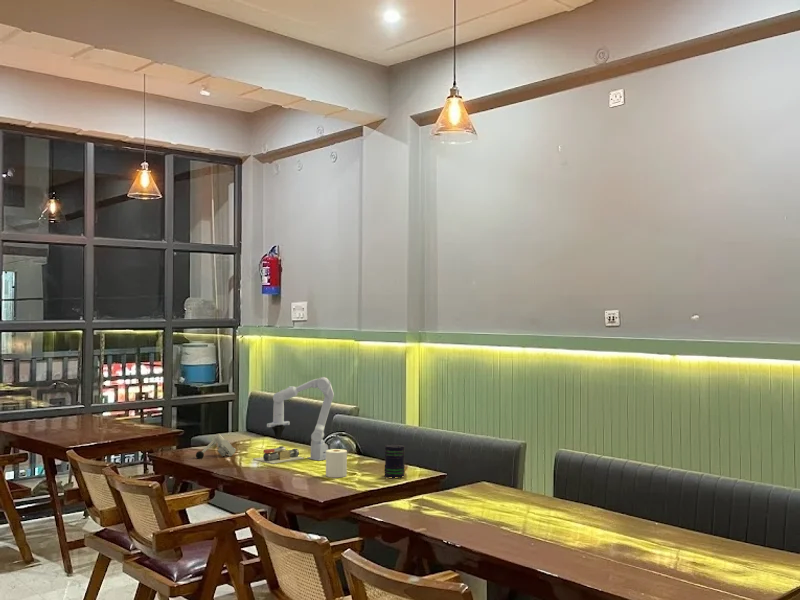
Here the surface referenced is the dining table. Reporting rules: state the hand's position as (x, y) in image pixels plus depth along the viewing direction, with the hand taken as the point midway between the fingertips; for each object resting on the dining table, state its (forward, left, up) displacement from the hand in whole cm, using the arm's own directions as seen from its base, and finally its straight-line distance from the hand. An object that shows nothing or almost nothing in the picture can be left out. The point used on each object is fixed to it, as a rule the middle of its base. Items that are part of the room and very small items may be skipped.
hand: (278, 439), depth 418 cm
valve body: (-5, +2, -10) cm, 11 cm away
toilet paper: (-56, +10, -10) cm, 58 cm away
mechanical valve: (+25, +23, -11) cm, 35 cm away
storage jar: (-77, -9, -10) cm, 78 cm away
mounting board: (-3, +2, -10) cm, 11 cm away
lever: (-5, +6, -5) cm, 10 cm away
